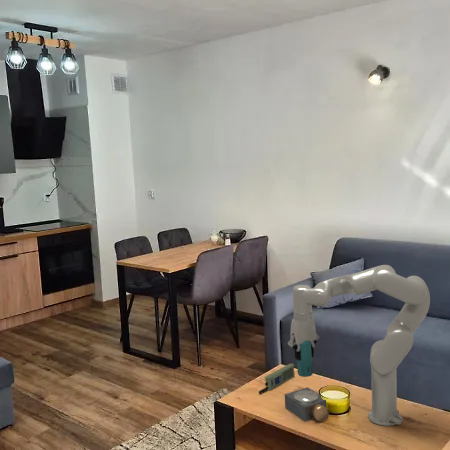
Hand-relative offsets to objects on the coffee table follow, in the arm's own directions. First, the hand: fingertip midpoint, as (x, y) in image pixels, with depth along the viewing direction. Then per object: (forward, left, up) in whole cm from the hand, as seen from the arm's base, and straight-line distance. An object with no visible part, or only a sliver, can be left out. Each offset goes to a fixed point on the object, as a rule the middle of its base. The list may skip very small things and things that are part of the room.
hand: (304, 357), depth 210 cm
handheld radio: (+27, -3, -24) cm, 36 cm away
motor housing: (-2, 0, -23) cm, 23 cm away
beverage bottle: (0, 0, -9) cm, 9 cm away
